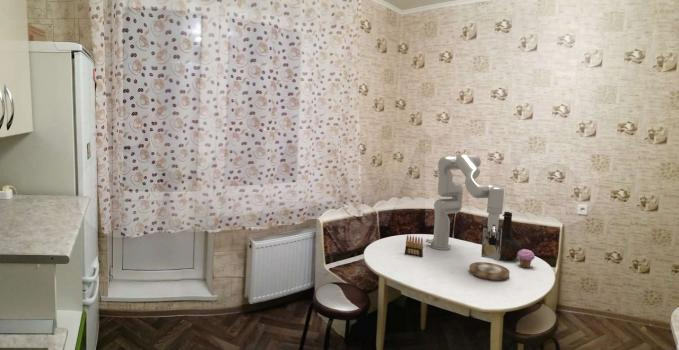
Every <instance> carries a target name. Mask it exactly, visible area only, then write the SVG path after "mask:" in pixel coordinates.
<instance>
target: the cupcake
mask: <svg viewBox="0 0 679 350" xmlns="http://www.w3.org/2000/svg"><path fill="white" fill-rule="evenodd" d="M534 253H535V252H533V251H532V250H530V249H526V248H521V250H520V251H519V252H518V253H517V256H518V257H517V258H519V266H520V268H521V267H522V268H526V269H527V268H528V269H529V268H530V267H531V264H532V261H533V260H534V259H535V254H534Z"/></svg>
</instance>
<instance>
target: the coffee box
mask: <svg viewBox="0 0 679 350" xmlns="http://www.w3.org/2000/svg"><path fill="white" fill-rule="evenodd" d="M492 228H493V226H492ZM487 230H488V228H487V225H483V229H482V239H481V240H482V241H481V242H482V244H481V254H480V255H481V256H480V257H481V258H486V259H493V260H499V261H500V250H501V237H502V226H498V232H497V233H496V245H495V246H494V245H489V237H490V232H488V231H487ZM495 230H496V229H495ZM496 231H497V230H496ZM491 232H492V230H491ZM491 234H492V233H491Z"/></svg>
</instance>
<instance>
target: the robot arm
mask: <svg viewBox="0 0 679 350" xmlns="http://www.w3.org/2000/svg"><path fill="white" fill-rule="evenodd" d="M481 163H482V161H481V157H479V155H478V154H476V153H461V154H458V155H445V156H441V157H440V158H439V160H438V162H437V168H438V171H437V172H438V181H437V194H438V195H439V196H440V197H443V198H439V199H436V200H435V201H434V203H433V208H434V223H433V224H434V227H433V238H431V239H429V238H426V241H425V242H426V243H427V244H430V247H431V248H432V249H434V250H437V251H438V250H439V251H446V250H447V251H448V250H451V244H449V240H450V230H451V229H450V228H451V227H450V225H451V220H450V217H449V214H458V213H460V212H461V210H462V205H463V196H464V193H463V192H464V188H463V186H462V184H461V182H459V181H453V180H454V179H453V178H454V176H453V172H452V171H453V170H455V171H457V170H459V171H461V172H462V174H463V175H464V177H465V180H464V181H465V182H464V183H465V189H466V190H467V191H468V193H469V195H471V196H472V198H476V199H487V206H486V213H487V214H488V217H487V228H488V230H487V231H488V232H490V237H489V245H494V246H495V245H496V233H497V232H498V227H499V225H500V223H499V222H500V216H501V215H503V210H504V207H503V206H504V197H505V196H504V195H505V189H504V187H501V186H497V185H496V184H492V183H477V182H476V181H475V180H476V179H478V177H479V176H480V175H481V170H480V166H481V165H482V164H481ZM451 170H452V171H451ZM492 226H493V228H492ZM495 229H496V230H497V231H496V230H495ZM491 230H492V232H491ZM491 233H492V234H491Z"/></svg>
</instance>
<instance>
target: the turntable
mask: <svg viewBox="0 0 679 350" xmlns="http://www.w3.org/2000/svg"><path fill="white" fill-rule="evenodd" d="M469 271H470V273H471V274H472V275H474V276H476V277H479V278H483V279H487V280H491V281H492V280H495V281H499V280H500V281H501V280H502V281H503V280H507V279H508V278H510V272H511V271H510V270H509V268H507V267H505V266H504V265H500V264H497V263H494V262H493V263H492V262H486V261H476V262H473V263H471V264H469Z"/></svg>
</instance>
